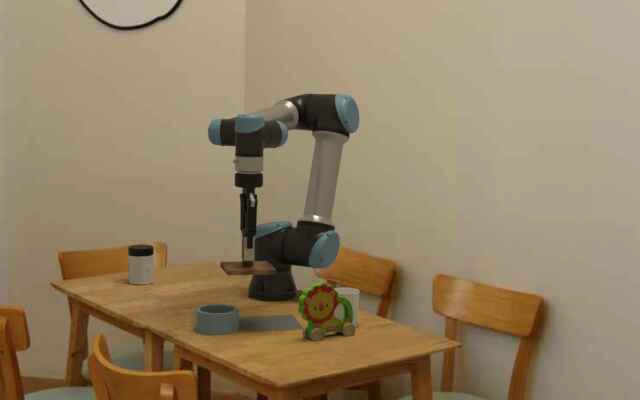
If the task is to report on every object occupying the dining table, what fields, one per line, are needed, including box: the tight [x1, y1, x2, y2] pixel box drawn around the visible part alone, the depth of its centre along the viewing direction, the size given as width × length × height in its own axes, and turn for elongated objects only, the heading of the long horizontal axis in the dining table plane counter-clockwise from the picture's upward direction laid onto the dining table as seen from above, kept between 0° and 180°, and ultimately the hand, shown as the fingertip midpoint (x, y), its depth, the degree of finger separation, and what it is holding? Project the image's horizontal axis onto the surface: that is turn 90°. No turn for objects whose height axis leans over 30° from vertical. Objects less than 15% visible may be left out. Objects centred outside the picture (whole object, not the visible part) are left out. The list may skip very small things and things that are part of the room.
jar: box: [127, 244, 155, 284], centre depth 313 cm, size 9×8×12 cm
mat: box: [239, 314, 304, 333], centre depth 263 cm, size 16×16×1 cm
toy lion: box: [297, 281, 356, 342], centre depth 249 cm, size 16×5×15 cm, turn 122°
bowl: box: [195, 303, 240, 336], centre depth 255 cm, size 11×11×6 cm
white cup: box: [334, 287, 361, 329], centre depth 262 cm, size 8×8×10 cm
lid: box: [219, 228, 276, 276], centre depth 257 cm, size 13×13×11 cm
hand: (247, 259), depth 257 cm, fingers closed on lid, 3 cm apart
